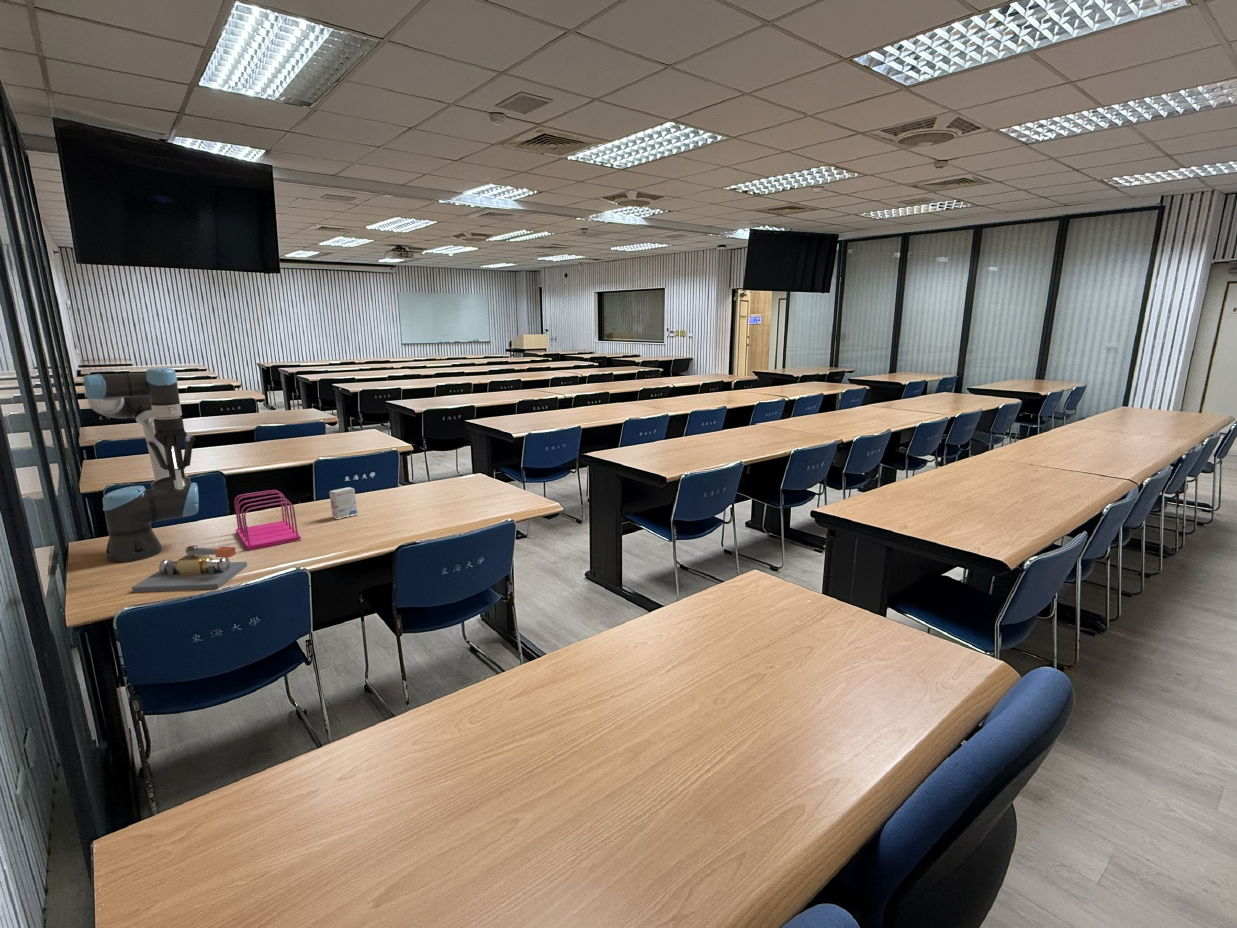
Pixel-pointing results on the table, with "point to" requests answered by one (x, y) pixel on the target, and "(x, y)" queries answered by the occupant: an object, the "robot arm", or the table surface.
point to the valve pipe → (194, 565)
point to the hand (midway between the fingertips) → (179, 488)
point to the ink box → (343, 502)
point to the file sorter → (266, 532)
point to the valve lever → (211, 551)
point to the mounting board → (188, 580)
